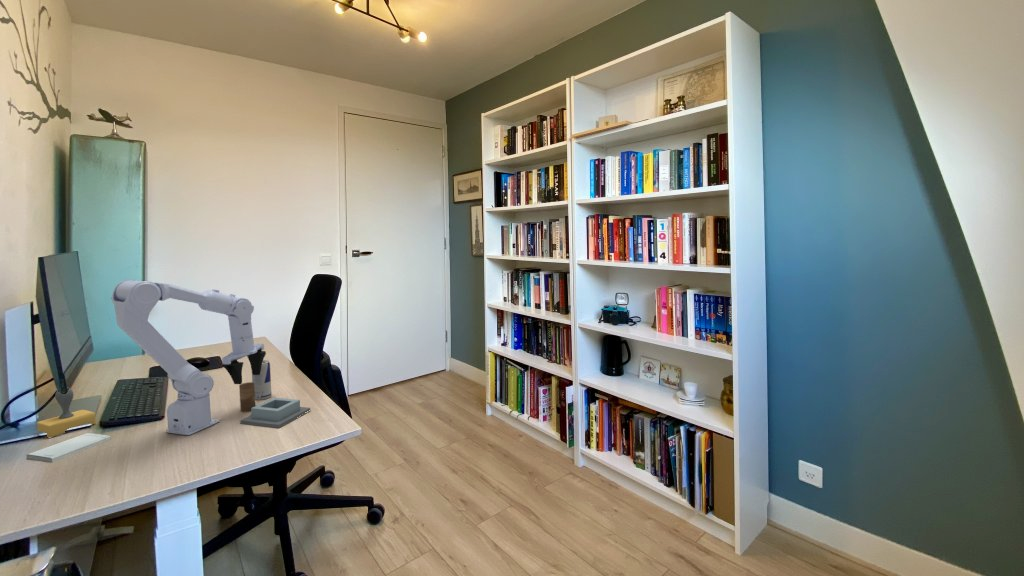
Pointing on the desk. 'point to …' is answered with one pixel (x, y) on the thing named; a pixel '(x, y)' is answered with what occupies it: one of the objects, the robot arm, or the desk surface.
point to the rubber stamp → (65, 417)
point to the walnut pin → (247, 396)
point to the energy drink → (262, 382)
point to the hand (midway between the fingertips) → (247, 379)
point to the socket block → (275, 413)
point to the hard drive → (68, 447)
